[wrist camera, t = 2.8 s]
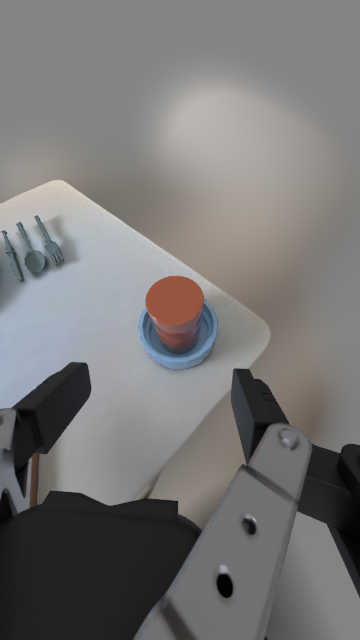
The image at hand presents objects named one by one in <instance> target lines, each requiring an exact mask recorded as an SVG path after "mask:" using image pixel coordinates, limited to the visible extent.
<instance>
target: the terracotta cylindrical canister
mask: <svg viewBox="0 0 360 640" xmlns="http://www.w3.org/2000/svg"><path fill="white" fill-rule="evenodd" d="M203 304H204V296H203V292H202V290H201V288H200V287H199V286H198V285H197V284H196V283H195V282H194V281H192V280H191V279H189V278H186V277H182V276H170V277H166V278H163V279H161V280H159V281H157V282H156V283H155V284H154V285H153V286H152V287H151V288H150V289H149V291H148V293H147V296H146V308H147V311H148V313H149V316H150V318H151V321H152V323H153V326H154V329H155V331H156V334H157V336H158V339H159V341H160V344H161V345H162V347H163V348H164V349H166V350H167V351H169V352H171V353H174V354H183V353H187V352H189V351H191V350H192V349H193V348H195V346H196V345H197V344H198V342H199V339H200V332H201V323H202V313H203Z"/></svg>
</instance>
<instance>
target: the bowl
mask: <svg viewBox="0 0 360 640" xmlns="http://www.w3.org/2000/svg"><path fill="white" fill-rule="evenodd" d="M217 327H218V320H217V317H216V315H215V312H214V309H213V308H212V307H211V306H210V304H209V303H208V302H207V301H206V300H205V299H204V304H203V313H202V323H201V332H200V339H199V342H198V344H197V345H196V346H195V348H193V349H192V350H191V351H189V352H187V353H183V354H174V353H171V352H169V351H167V350H166V349H164V348H163V347H162V345H161V344H160V341H159V339H158V336H157V334H156V331H155V329H154V326H153V323H152V321H151V318H150V316H149V313H148V311H147V308H145V309H144V311H143V312H142V314H141V317H140V321H139V325H138V328H139V335H140V339H141V341H142V343H143V344H144V346H145V348H146V349H147V351H148V353H149V354H150V356H151V358H152V359H154V360H155V361H156V362H158V363H159V364H160V365H162V366H165V367H168V368H172V369H187V368H190V367H192V366H195V365H197V364H199V363H201V362H202V361H203V360H204V359H205V358H206V357H207V356H208V355H209V354H210V352H211V349H212V347H213V345H214V342H215V339H216V336H217Z"/></svg>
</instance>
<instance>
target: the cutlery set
mask: <svg viewBox="0 0 360 640" xmlns="http://www.w3.org/2000/svg"><path fill="white" fill-rule="evenodd" d="M34 217H35V219H36V221H37V223H38V225H39V227H40V229H41V231H42V233H43V235H44V237H45V240H46V241H45V242H46V243H47V244H46V245H45V246H44V247H45V248H46V250H47V252H48V253H49V255H50V256H51V258H52V259H53V261H54V263H55V264H56V265H57V262H56V259H57V260H58V262H59V263H60V259H59V257H60V258H61V260H62V261H64V260H63V257H62V255H61V252H60V249H59V247H58V245H57V244H56V242H52V241H51V240H50V238H49V236H48V234H47V232H46V230H45V228H44V226H43V224H42V222H41V221H40V218H39V217H38V216H34ZM16 225H17V227H18V229H19V231H20V233H21V235H22V237H23V239H24V241H25V243H26V245H27V247H28V249H29V252H28V253H27V255H26V257H25V266H26V267H27V268H28V269H29V270H30V271H33V272H38V271H40V270H42V269H43V267H44V265H45V257H44V255H43V254H42V253H41V252H40V251H36V250H32V248H31V246H30V243H29V241H28V239H27V236H26V233H25V231H24V228H23V225H22V223H21V222H19V223H17V224H16ZM1 232H2V233H3V236H4V238H5V243H6V248H5V249H6V250H7V252H5V253H6V254H8V255H9V258H10V264H11V268H12V271H13V273H14V276H15V278H17V279H18V280H19V281H23V279H22V276H21V274H20V271H19V268H18V265H17V262H16V259H15V256H14V255H17V254H16V253H15V252H14V251H13V250H14V249H13V248H12V247H11V246H10V244H9V241H8V239H7V235H6V234H7V232H6V231H5V230H4V231H1ZM57 254H58V255H59V257H58V255H57ZM54 256H55V257H56V259H55V257H54Z"/></svg>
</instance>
